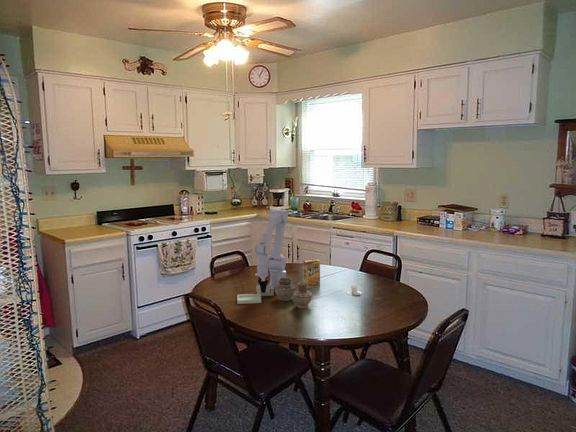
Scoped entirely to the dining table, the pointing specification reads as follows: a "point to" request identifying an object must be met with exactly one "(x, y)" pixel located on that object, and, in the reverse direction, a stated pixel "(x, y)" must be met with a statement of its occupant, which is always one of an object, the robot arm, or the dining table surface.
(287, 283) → the pottery
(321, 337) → the dining table surface
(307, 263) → the candy box
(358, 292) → the white headphones
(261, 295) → the bay
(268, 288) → the block
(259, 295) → the tray
